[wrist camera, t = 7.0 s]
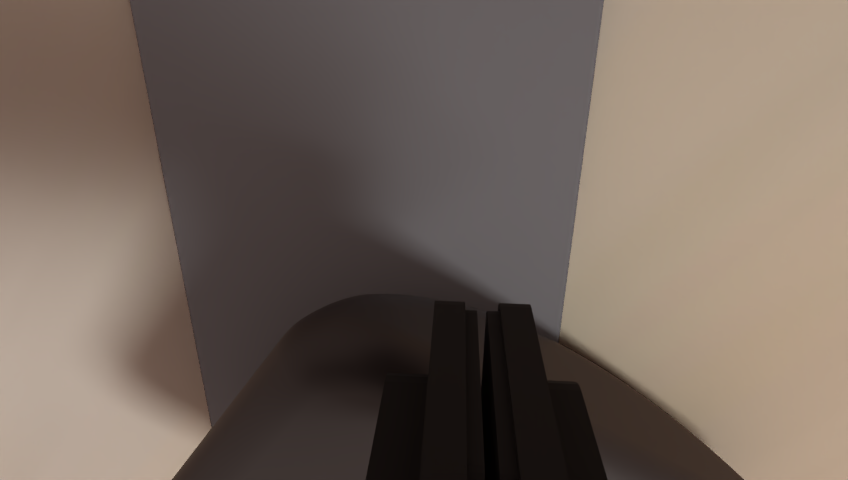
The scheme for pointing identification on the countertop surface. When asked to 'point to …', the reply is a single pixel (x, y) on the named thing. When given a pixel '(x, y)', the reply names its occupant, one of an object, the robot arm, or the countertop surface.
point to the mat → (364, 157)
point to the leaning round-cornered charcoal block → (362, 391)
